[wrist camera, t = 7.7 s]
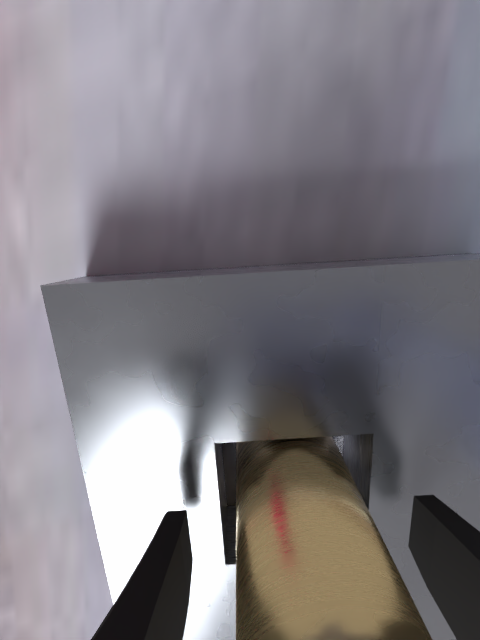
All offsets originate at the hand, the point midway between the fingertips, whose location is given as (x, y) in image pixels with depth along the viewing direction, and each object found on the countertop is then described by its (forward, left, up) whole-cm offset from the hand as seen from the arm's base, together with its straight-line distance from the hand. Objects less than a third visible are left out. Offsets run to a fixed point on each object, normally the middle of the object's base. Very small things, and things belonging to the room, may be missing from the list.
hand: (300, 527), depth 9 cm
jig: (0, 0, -3) cm, 3 cm away
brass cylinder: (0, 0, -3) cm, 3 cm away
